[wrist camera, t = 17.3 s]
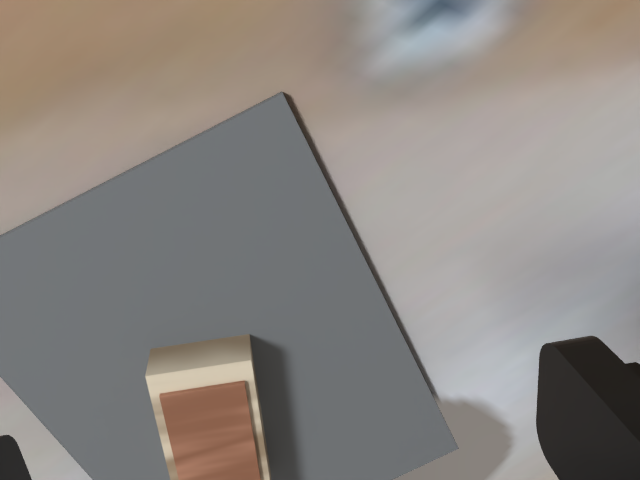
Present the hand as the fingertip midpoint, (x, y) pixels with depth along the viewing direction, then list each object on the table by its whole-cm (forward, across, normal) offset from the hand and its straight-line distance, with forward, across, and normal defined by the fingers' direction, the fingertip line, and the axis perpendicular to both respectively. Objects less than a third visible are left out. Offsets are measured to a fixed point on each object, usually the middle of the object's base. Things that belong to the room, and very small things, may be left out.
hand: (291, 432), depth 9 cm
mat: (+28, +4, +18) cm, 33 cm away
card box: (+26, +6, +27) cm, 38 cm away
